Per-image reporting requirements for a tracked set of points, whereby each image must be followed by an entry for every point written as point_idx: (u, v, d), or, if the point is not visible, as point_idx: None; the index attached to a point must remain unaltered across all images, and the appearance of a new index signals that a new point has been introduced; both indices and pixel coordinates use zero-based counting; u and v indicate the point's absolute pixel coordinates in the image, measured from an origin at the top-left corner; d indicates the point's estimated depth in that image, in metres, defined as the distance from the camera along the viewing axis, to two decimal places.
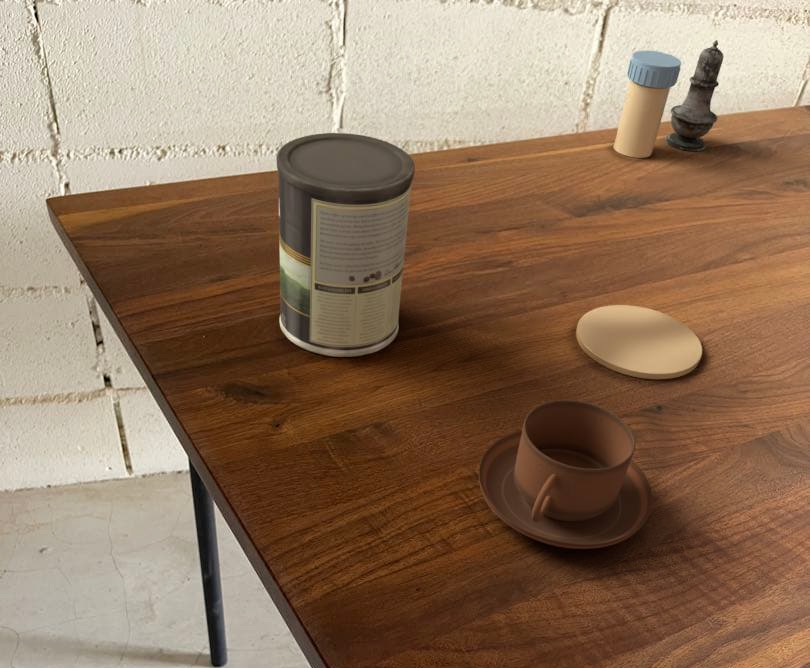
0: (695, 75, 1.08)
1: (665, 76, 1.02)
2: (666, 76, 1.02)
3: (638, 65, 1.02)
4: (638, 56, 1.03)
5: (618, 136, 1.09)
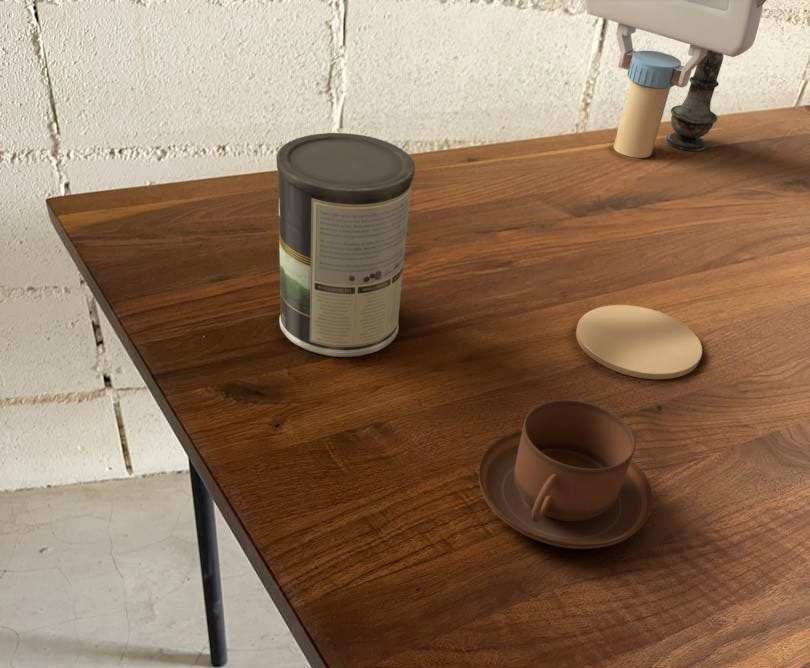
0: (695, 75, 1.08)
1: (665, 76, 1.02)
2: (666, 76, 1.02)
3: (638, 65, 1.02)
4: (638, 56, 1.03)
5: (618, 136, 1.09)
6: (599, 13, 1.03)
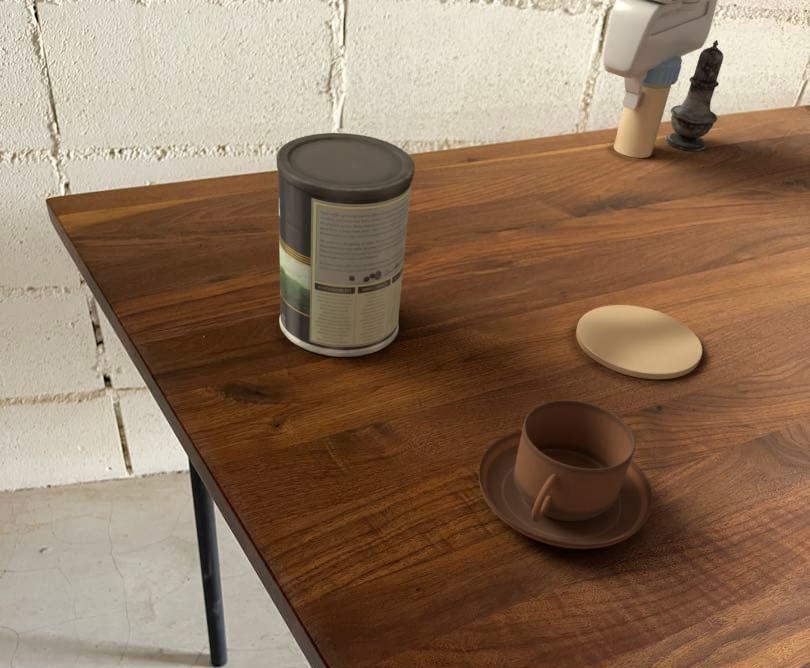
0: (695, 75, 1.08)
1: None
2: None
3: (673, 68, 1.01)
4: None
5: (618, 136, 1.09)
6: (639, 72, 0.98)
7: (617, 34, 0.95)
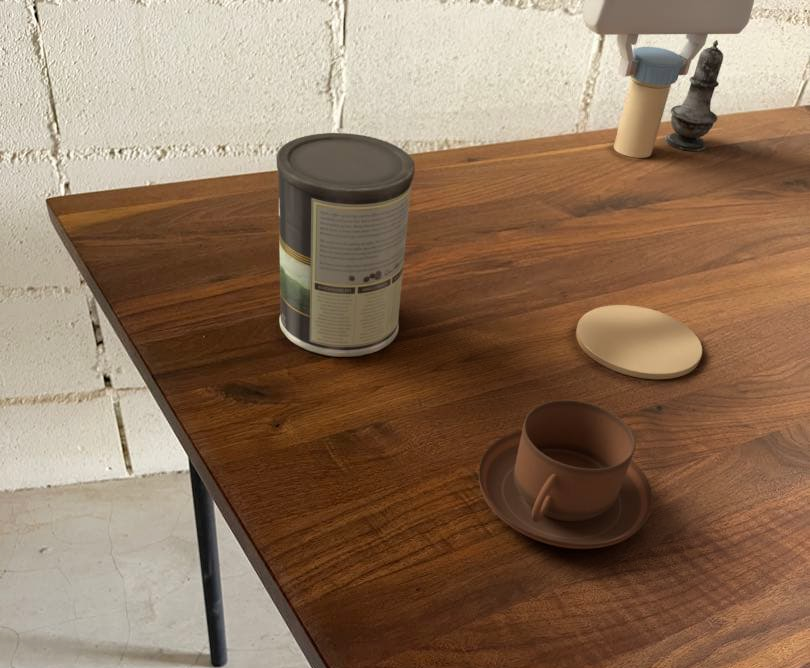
0: (695, 75, 1.08)
1: None
2: None
3: None
4: (675, 60, 1.02)
5: (618, 136, 1.09)
6: (614, 31, 0.97)
7: None
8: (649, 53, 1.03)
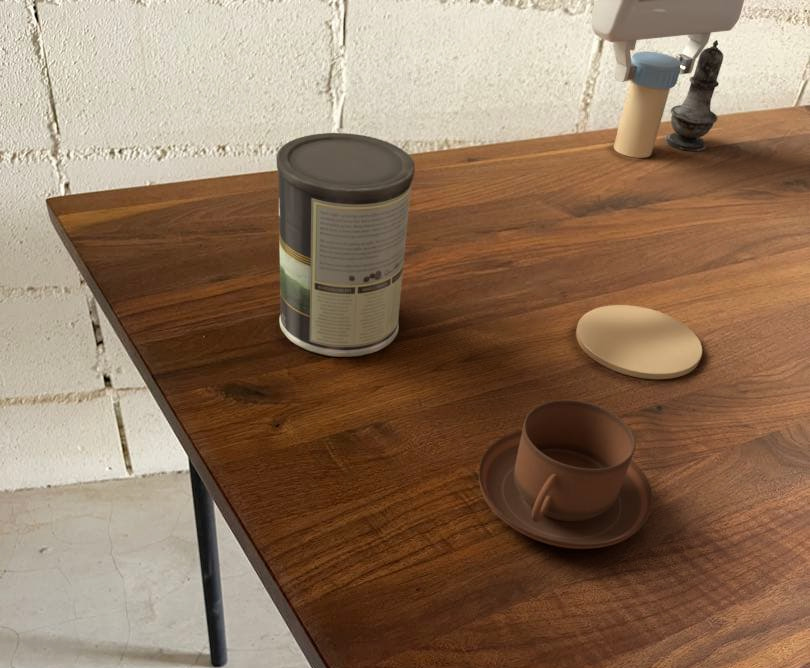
0: (695, 75, 1.08)
1: None
2: None
3: None
4: (675, 61, 1.03)
5: (618, 136, 1.09)
6: (626, 37, 0.97)
7: None
8: (649, 59, 1.03)
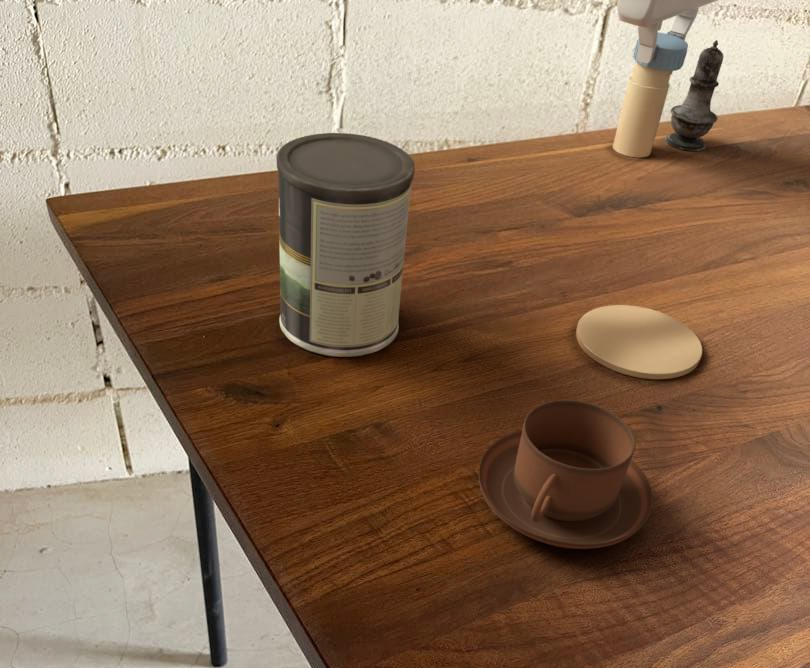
0: (695, 75, 1.08)
1: None
2: None
3: None
4: (662, 34, 1.03)
5: (618, 136, 1.08)
6: (654, 20, 0.94)
7: None
8: (667, 43, 1.01)
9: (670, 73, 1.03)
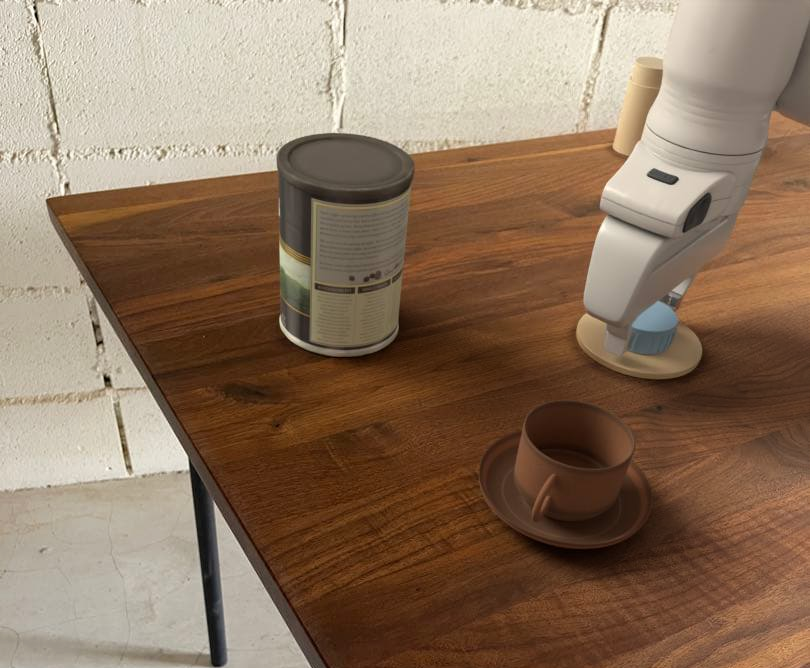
0: None
1: None
2: None
3: None
4: None
5: (618, 136, 1.08)
6: (635, 317, 0.68)
7: (603, 273, 0.65)
8: (649, 319, 0.75)
9: None
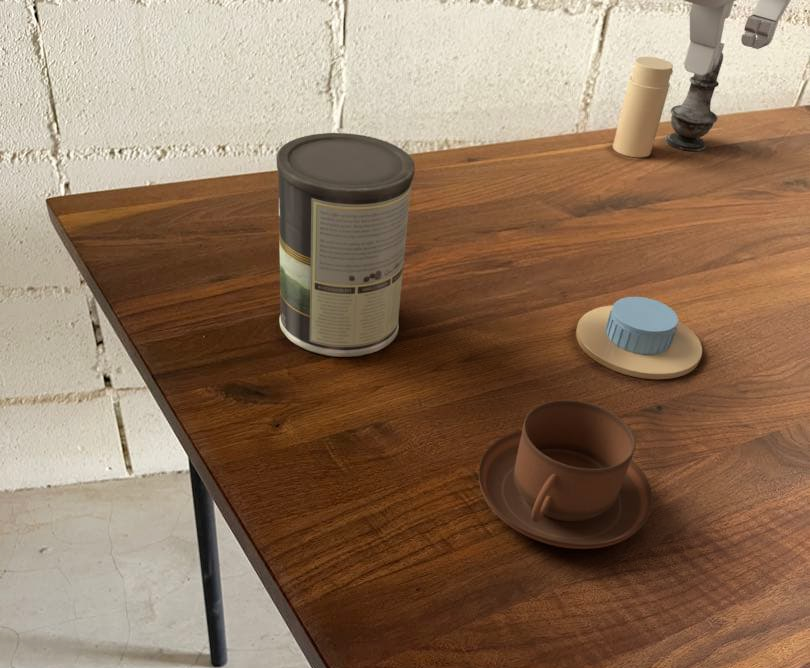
0: (695, 75, 1.08)
1: (611, 324, 0.76)
2: (612, 325, 0.76)
3: None
4: (643, 300, 0.78)
5: (618, 136, 1.08)
6: None
7: None
8: (649, 319, 0.75)
9: (670, 73, 1.03)
